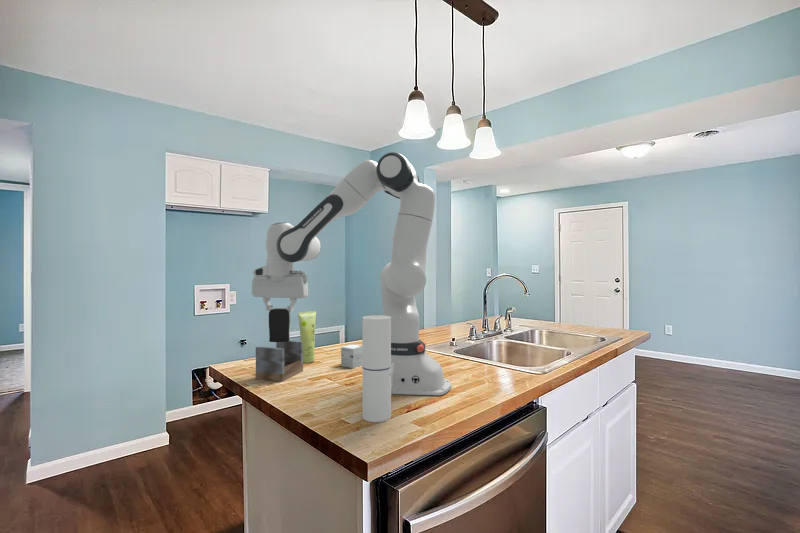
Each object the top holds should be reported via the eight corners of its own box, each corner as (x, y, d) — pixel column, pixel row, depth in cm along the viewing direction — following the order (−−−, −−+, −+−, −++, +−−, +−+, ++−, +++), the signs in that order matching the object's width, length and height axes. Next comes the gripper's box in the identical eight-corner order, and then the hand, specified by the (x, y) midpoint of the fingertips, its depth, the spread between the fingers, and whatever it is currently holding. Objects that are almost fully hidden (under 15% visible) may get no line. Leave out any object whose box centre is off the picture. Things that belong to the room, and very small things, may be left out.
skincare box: (340, 366, 147) (340, 346, 147) (351, 362, 153) (351, 343, 152) (353, 368, 144) (353, 348, 144) (363, 365, 149) (363, 345, 149)
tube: (310, 364, 151) (310, 312, 151) (298, 363, 152) (297, 312, 152) (316, 360, 156) (316, 310, 156) (304, 359, 157) (304, 310, 157)
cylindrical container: (356, 417, 99) (356, 317, 99) (374, 409, 105) (373, 314, 105) (379, 424, 95) (379, 320, 95) (396, 414, 101) (396, 316, 101)
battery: (291, 339, 139) (291, 307, 138) (289, 342, 135) (289, 308, 135) (270, 340, 138) (270, 307, 138) (268, 342, 134) (267, 309, 134)
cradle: (303, 371, 141) (302, 341, 141) (282, 381, 129) (282, 349, 129) (278, 368, 144) (278, 340, 144) (255, 379, 132) (255, 347, 131)
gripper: (311, 270, 136) (311, 310, 136) (260, 270, 142) (260, 308, 142) (302, 270, 130) (302, 313, 130) (248, 270, 136) (248, 310, 136)
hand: (280, 310), depth 136 cm, fingers closed on battery, 7 cm apart
